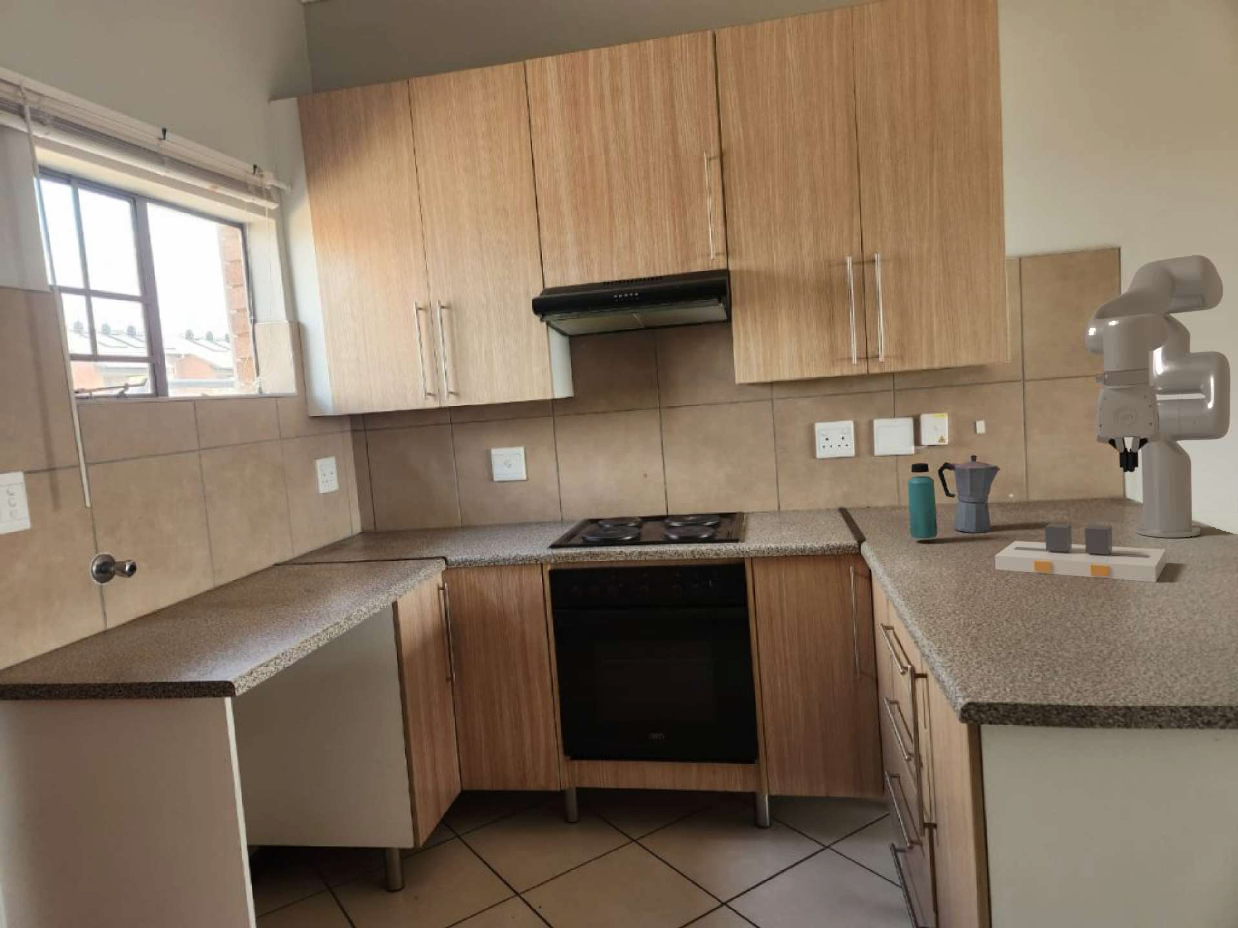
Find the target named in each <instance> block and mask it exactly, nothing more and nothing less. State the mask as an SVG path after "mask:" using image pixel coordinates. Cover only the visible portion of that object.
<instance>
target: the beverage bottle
mask: <svg viewBox="0 0 1238 928" xmlns="http://www.w3.org/2000/svg"><path fill="white" fill-rule="evenodd" d="M910 472H911V473H913V474H915V473H917V474H919V473H929V472H930V468H929V463H925V462H919V463H912V464H911V471H910ZM907 489H908V514H909V533H910V536H911V537H912V538H915V539H933V538H937V536H938V531H939V530H938V523H937V515H938V514H937V505H936V495H935V493H936V492H935V480H934V479H933V478H932V477H931V476H929V475H919V476H918V475H916V476H912V477H910V478H909V480H907Z"/></svg>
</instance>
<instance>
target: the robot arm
mask: <svg viewBox="0 0 1238 928" xmlns="http://www.w3.org/2000/svg"><path fill="white" fill-rule="evenodd" d="M1223 296H1224V285H1223V280H1222V278H1221V276H1220V274H1219V272H1218V270H1217V268H1216V266H1215V264H1214V263H1213V262H1212V260H1210V258H1208V257H1206V256H1204V255H1201V254H1200V255H1199V254H1194V255H1188V256H1181V257H1173V258H1165V259H1159V260H1154V261H1150V262H1148V263H1145V264H1143V265H1142V266H1141V267H1140V268H1138V269H1137V270H1136V272H1135V273H1134V276H1133V278H1132V280H1131V282H1130V285H1129V287H1128V289H1127V291H1126V292H1123V293H1121V294H1120V295H1117V296H1116V297H1114V298H1112V299H1111V300H1110V299H1109V300H1108V301H1106V302H1105V303H1102V304H1101V305H1100V306H1098V307H1097V308H1096V309H1095V310H1094V312H1093V313H1092V315H1091V316H1090V318H1089V321H1088V323H1087V326H1086V328H1085V332H1084V341H1085V346H1086V348H1087V350H1088V351H1089V352H1090V353H1091V354H1094V355H1099V356H1103V373H1102V374H1100V375H1096V376H1095V382H1096V383H1102V384H1103V387H1101V388H1099V391H1098V396H1097V405H1096V433H1097V437H1096V442H1097V443H1101V444H1106V445H1110V446H1111V447H1112V448H1114V449H1115V450H1116V451H1117V452H1118V457H1119V468H1120V469H1121V468H1122V469H1123V471H1122V472H1123V473H1127V472H1129V473H1134V472H1135V470H1136V468H1139V451H1141V452H1140V453H1141V473H1142V475H1141V476H1142V477H1141V480H1142V481H1141V483H1142V484H1141V485H1142V524H1139V525H1138V526H1136V527H1135V533H1137V534H1138V535H1143V536H1146V537H1155V538H1170V539H1171V538H1173V539H1174V538H1191V536H1192V537H1195V536H1196V537H1197V536H1200V534H1201V528H1200V527H1198V526H1194V525H1193V511H1192V510H1193V504H1192V503H1193V502H1192V499H1193V498H1192V497H1193V496H1192V490H1193V489H1192V459H1191V457H1190V455H1189V453H1188V452H1187V451H1186V450H1185V448H1184V447H1182V446H1181V445H1180V444H1179V443H1178V442H1179V441H1181V442H1182V441H1206V440H1207V441H1209V440H1210V441H1211V440H1219V439H1223V437H1225V436H1226V435H1228V432H1229V428H1230V422H1231V419H1230V418H1231V368H1230V363H1229V360H1228V358H1227V356H1226V355H1225V354H1223V353H1222V352H1219V351H1211V350H1210V351H1197V352H1191V333H1190V331H1189V330H1188V328H1187V327H1186V326H1185V325H1184V324H1183V323H1182V322H1181V321H1179V320H1178V319H1177V318H1175V317H1174V316H1173V315H1174V314H1180V313H1181V314H1182V313H1192V312H1201V311H1207V310H1212V309H1214V308H1216V307H1217V306H1219V304H1220V303H1221V301H1222V299H1223ZM1171 314H1173V315H1171ZM1195 394H1198V395H1199V394H1200V395H1203V396H1204V397H1203V398H1199V397H1198V398H1180V399H1179V398H1174V399H1171V398H1170V399H1157V398H1158V397H1157V395H1159V396H1160V395H1161V396H1169V395H1170V396H1174V395H1195ZM1125 438H1132V440H1131V446H1130V448H1129V450H1128V447H1127V446H1126V445H1127V444H1126V441H1125Z"/></svg>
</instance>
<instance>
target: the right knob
mask: <svg viewBox="0 0 1238 928" xmlns="http://www.w3.org/2000/svg"><path fill="white" fill-rule="evenodd" d="M1112 527H1113V526H1112V525H1099V524H1098V525H1095V524H1088V525H1087V526H1086V527H1085V528H1084V536H1085V538H1084V540H1085V541H1084V542H1085V544H1084V545H1086V553H1099V554H1109V553H1110V552H1111V551H1112V546H1113V536H1112V535H1113V530H1112V529H1113V528H1112Z"/></svg>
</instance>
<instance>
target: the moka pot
mask: <svg viewBox="0 0 1238 928" xmlns="http://www.w3.org/2000/svg"><path fill="white" fill-rule="evenodd" d="M977 458H978V456H977V455H975V454H973V455H970V461H967V462H962V463H953V462H952V463H950V462H944V463H943V464H942V465H941V466H940V467H939V468H938V470H937V476H938V478H939V480H940V483H941V486H942V488H943V492H944V495H945V497H948V498H949V497H950V498H952V499H953V498H955V497H956V494H955V493H951V492H950V491H949V489H948V488H949V487H948V484H947V480H946V478H945V474H944V471H945V470H949V471H953V472H954V476H955V478H954V479H955V484H956V492H957V498H958V501H957V507H956V511H955V512H956V513H955V519H954V526H953V529H954V530H956V531H959V532H963V533H975V534H978V533H979V534H980V533H989V532H990V531H992V530H991V529H992V527H991V519H990V518H991V517H990V509H989V504H988V501H989V495H990V493H991V487H992V484H993V482H994V480H995V478H996V476H997V473H998V472H999V471H1000V470H1002V469H1001V467H999V466H998V465H995V464H991V463H990V464H989V463H986V462H980V461H977Z"/></svg>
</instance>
